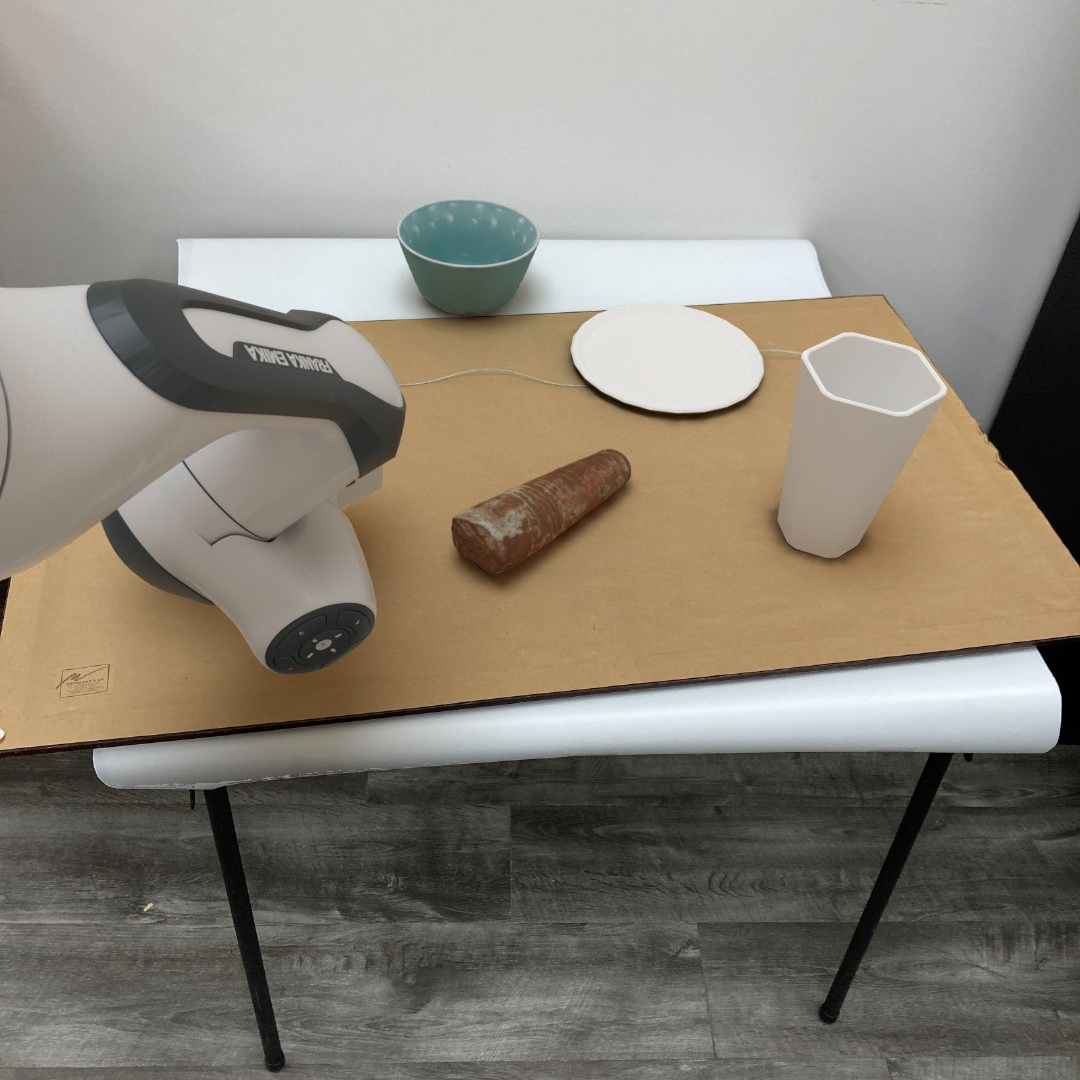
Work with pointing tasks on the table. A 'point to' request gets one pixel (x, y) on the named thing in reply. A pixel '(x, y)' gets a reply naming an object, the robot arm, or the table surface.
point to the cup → (851, 437)
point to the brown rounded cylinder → (536, 511)
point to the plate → (667, 358)
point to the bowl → (467, 253)
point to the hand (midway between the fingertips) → (224, 374)
